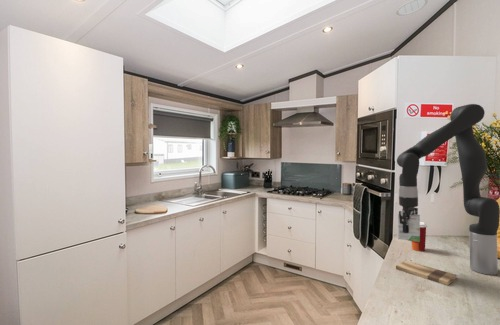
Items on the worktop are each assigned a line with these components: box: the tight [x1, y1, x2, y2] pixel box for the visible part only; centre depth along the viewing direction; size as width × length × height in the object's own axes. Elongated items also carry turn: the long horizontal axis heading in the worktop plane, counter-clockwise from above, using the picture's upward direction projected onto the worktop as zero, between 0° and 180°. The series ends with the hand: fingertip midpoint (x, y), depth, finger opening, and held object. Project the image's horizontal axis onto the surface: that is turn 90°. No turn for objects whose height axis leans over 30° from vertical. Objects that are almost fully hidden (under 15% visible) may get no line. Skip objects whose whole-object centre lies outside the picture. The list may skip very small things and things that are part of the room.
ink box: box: [397, 212, 421, 242], centre depth 118 cm, size 9×5×12 cm, turn 53°
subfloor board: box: [395, 259, 457, 287], centre depth 114 cm, size 10×20×2 cm, turn 35°
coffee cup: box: [411, 221, 428, 252], centre depth 142 cm, size 8×8×15 cm
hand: (409, 231), depth 118 cm, fingers closed on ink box, 6 cm apart
